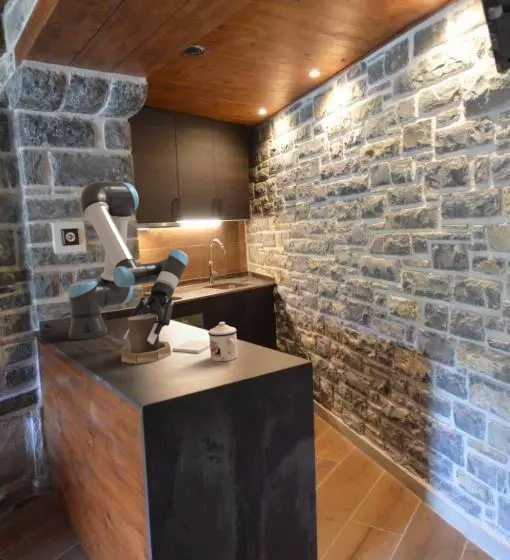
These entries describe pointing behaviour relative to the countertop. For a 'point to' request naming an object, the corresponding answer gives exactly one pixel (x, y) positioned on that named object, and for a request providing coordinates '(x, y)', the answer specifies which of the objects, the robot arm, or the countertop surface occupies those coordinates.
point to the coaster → (193, 346)
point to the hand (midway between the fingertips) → (138, 341)
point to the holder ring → (145, 354)
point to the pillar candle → (142, 333)
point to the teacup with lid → (223, 342)
